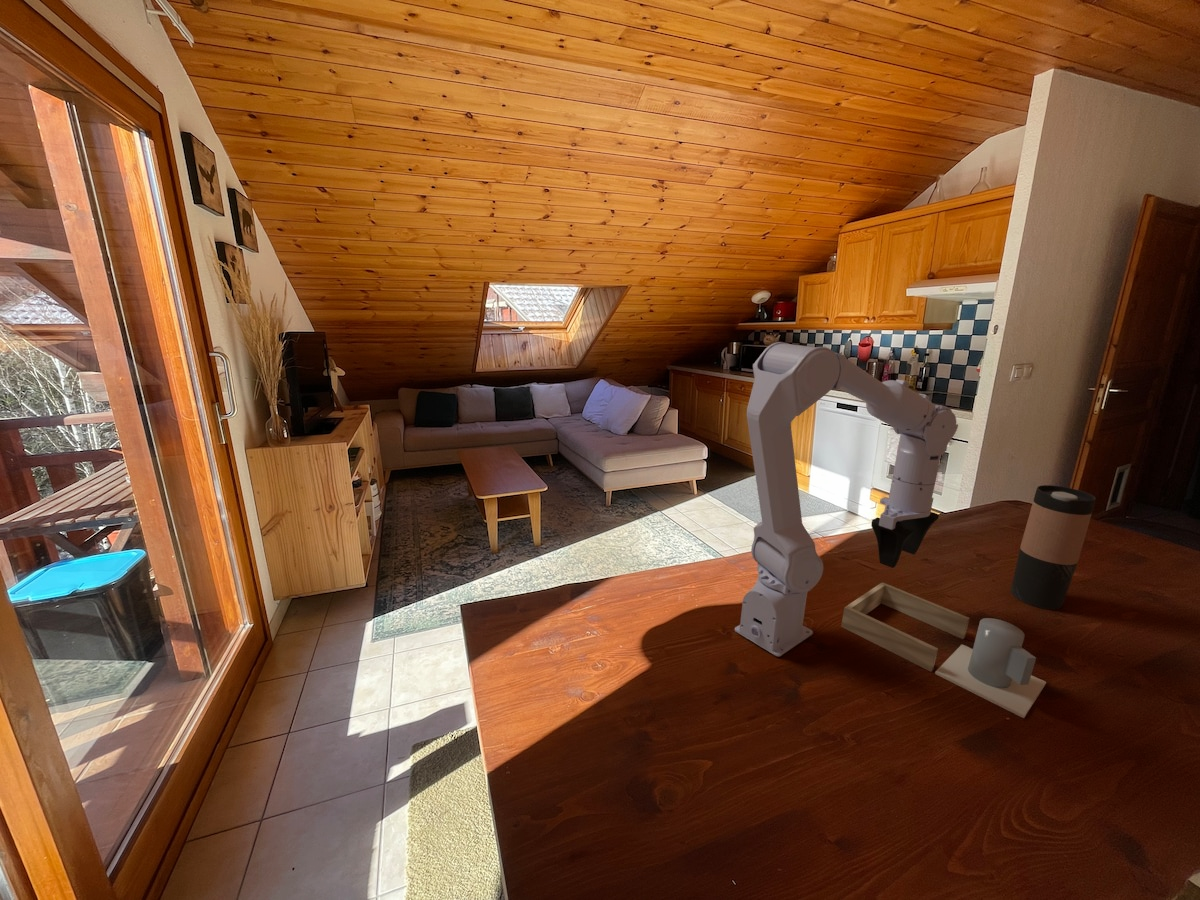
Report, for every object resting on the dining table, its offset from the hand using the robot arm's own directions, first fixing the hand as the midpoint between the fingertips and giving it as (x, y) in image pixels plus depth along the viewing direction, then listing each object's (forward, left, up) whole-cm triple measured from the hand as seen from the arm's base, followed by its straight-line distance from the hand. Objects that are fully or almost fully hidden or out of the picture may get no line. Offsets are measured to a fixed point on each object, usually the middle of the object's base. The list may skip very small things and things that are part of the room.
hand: (897, 558), depth 83 cm
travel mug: (+26, -14, -10) cm, 31 cm away
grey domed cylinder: (-6, -17, -9) cm, 20 cm away
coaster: (-5, -16, -10) cm, 20 cm away
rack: (-4, -4, -10) cm, 11 cm away
